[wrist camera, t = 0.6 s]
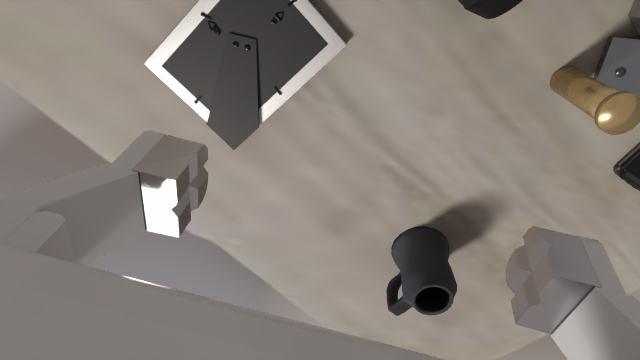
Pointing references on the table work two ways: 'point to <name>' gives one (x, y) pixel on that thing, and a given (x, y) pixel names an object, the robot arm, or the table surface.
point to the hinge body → (622, 59)
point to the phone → (630, 167)
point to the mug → (421, 273)
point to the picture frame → (244, 59)
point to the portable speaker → (489, 7)
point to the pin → (598, 100)
